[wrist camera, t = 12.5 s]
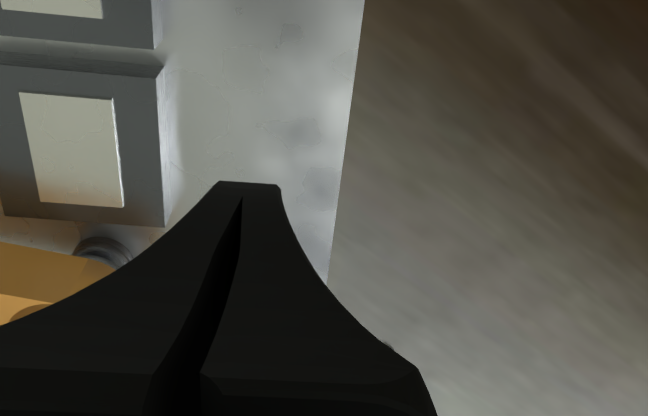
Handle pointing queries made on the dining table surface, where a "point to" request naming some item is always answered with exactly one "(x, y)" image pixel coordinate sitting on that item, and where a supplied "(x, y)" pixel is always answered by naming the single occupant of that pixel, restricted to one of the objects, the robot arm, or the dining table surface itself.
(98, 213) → the server panel
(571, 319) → the dining table surface
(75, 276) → the cable arm
